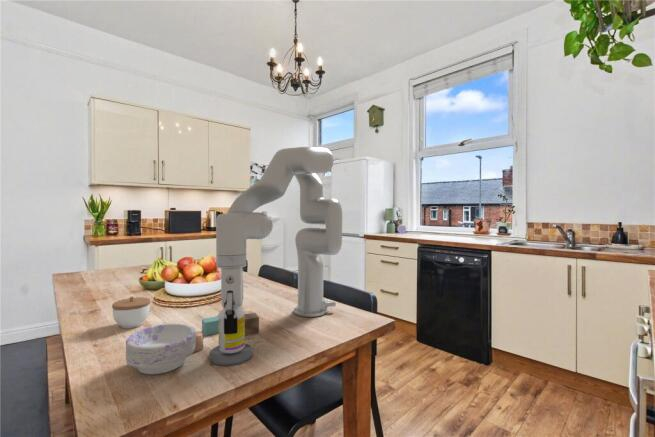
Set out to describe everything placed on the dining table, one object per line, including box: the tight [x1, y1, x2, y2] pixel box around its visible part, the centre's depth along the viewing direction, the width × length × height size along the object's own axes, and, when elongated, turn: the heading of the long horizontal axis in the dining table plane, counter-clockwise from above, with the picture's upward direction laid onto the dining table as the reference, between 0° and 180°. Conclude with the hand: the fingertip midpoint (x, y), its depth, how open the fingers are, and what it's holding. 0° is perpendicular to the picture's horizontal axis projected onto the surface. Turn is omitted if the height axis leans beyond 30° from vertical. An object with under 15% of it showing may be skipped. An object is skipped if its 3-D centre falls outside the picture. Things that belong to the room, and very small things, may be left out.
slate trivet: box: [208, 342, 254, 367], centre depth 84 cm, size 11×11×1 cm
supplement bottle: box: [217, 303, 246, 353], centre depth 84 cm, size 7×7×13 cm
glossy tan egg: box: [193, 331, 204, 353], centre depth 88 cm, size 4×4×4 cm
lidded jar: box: [111, 296, 151, 329], centre depth 105 cm, size 11×11×9 cm
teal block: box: [201, 315, 219, 336], centre depth 101 cm, size 6×4×4 cm, turn 125°
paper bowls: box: [125, 322, 197, 375], centre depth 79 cm, size 15×15×8 cm
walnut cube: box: [245, 312, 260, 336], centre depth 100 cm, size 5×5×5 cm
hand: (232, 327), depth 84 cm, fingers closed on supplement bottle, 6 cm apart
